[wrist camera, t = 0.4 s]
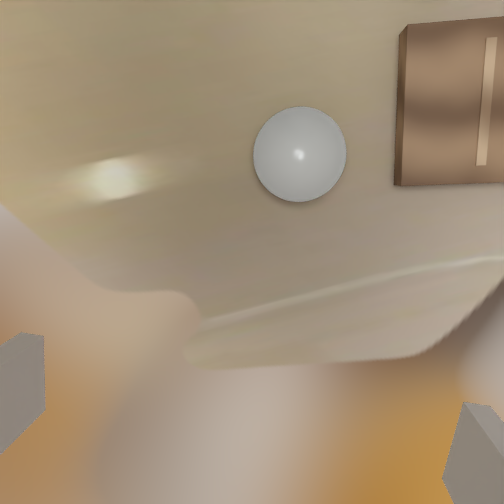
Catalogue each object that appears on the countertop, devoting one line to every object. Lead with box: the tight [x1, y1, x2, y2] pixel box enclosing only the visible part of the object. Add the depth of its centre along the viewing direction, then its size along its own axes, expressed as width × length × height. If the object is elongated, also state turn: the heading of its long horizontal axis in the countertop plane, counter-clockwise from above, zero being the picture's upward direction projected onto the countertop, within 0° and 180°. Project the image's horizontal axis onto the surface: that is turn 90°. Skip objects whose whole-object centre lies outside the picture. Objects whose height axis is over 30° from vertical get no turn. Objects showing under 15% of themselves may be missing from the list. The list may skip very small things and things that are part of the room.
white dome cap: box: [253, 107, 346, 202], centre depth 35 cm, size 8×8×4 cm
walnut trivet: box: [394, 16, 504, 186], centre depth 33 cm, size 13×13×3 cm
